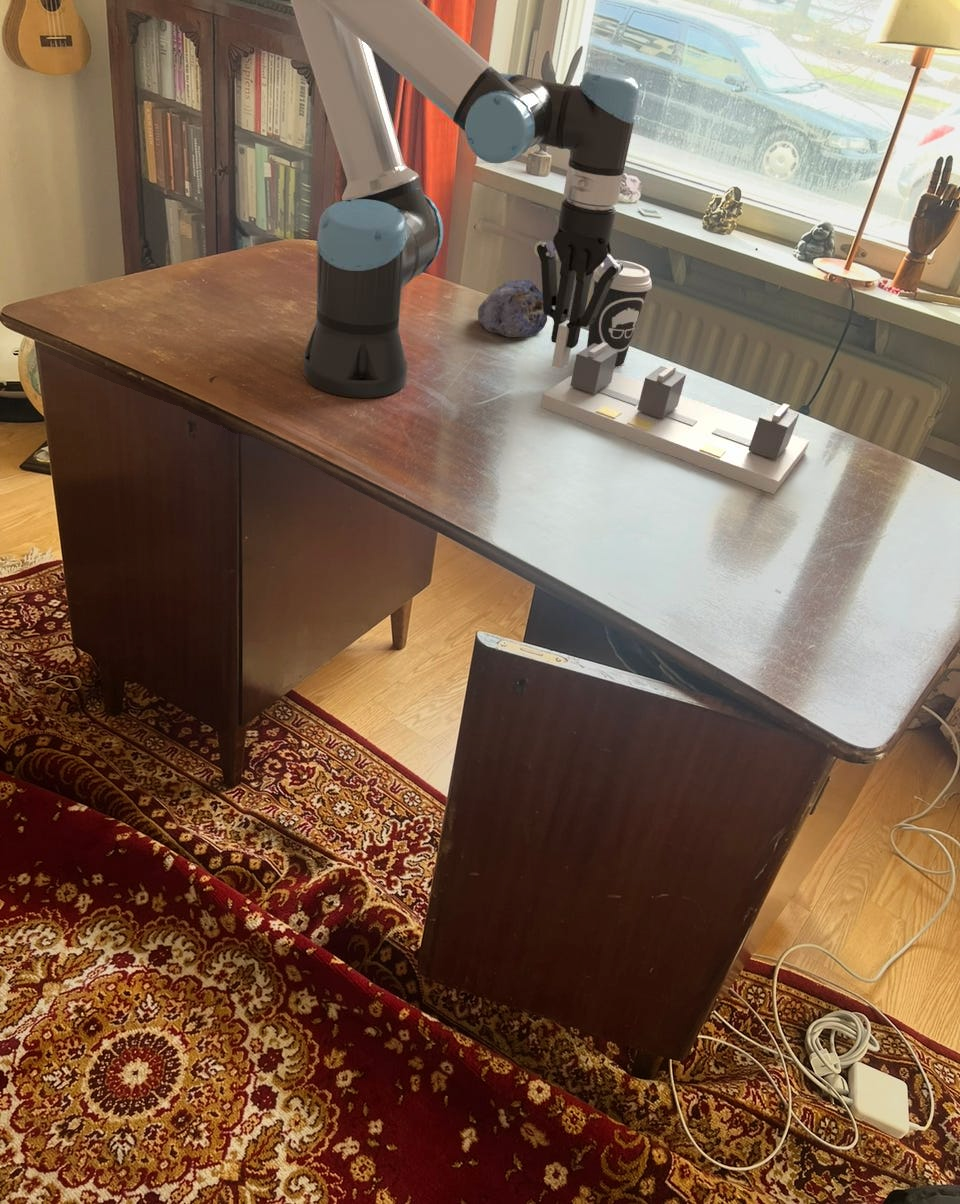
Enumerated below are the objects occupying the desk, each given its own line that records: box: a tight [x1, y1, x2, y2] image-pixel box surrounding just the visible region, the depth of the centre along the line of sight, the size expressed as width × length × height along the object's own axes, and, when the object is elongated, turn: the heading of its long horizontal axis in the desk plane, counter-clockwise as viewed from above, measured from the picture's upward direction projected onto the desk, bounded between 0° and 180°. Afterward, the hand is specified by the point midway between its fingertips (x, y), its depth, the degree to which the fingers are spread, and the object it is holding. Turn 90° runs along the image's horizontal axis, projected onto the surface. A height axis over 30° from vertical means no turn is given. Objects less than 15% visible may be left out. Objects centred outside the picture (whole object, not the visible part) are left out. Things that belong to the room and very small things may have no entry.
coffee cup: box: [586, 259, 653, 367], centre depth 150 cm, size 10×10×15 cm
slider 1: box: [570, 342, 618, 394], centre depth 137 cm, size 4×6×6 cm, turn 149°
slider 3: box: [748, 403, 800, 460], centre depth 128 cm, size 4×6×6 cm, turn 149°
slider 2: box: [637, 364, 687, 419], centre depth 134 cm, size 4×6×6 cm, turn 149°
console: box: [540, 371, 810, 495], centre depth 135 cm, size 36×16×2 cm, turn 59°
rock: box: [477, 279, 548, 338], centre depth 158 cm, size 11×10×10 cm
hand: (560, 365), depth 140 cm, fingers closed
